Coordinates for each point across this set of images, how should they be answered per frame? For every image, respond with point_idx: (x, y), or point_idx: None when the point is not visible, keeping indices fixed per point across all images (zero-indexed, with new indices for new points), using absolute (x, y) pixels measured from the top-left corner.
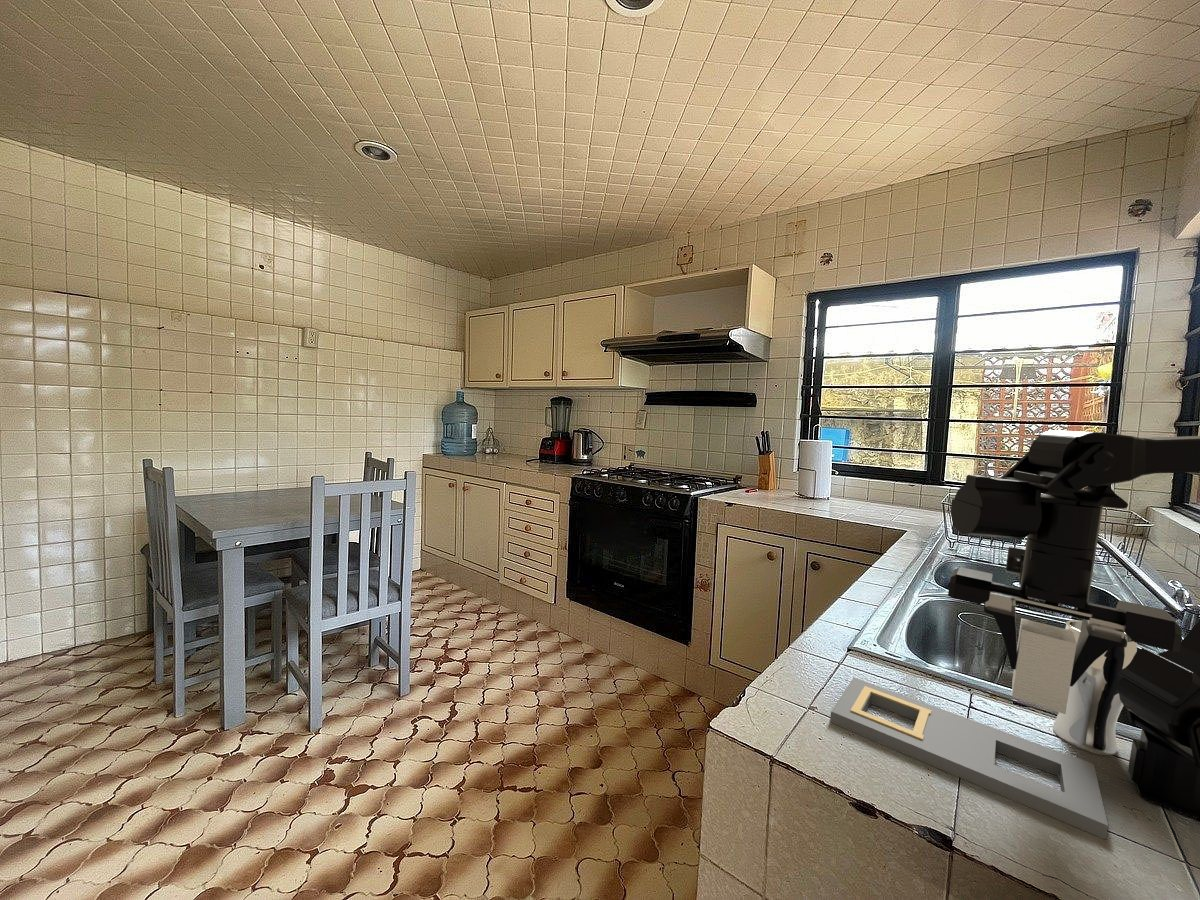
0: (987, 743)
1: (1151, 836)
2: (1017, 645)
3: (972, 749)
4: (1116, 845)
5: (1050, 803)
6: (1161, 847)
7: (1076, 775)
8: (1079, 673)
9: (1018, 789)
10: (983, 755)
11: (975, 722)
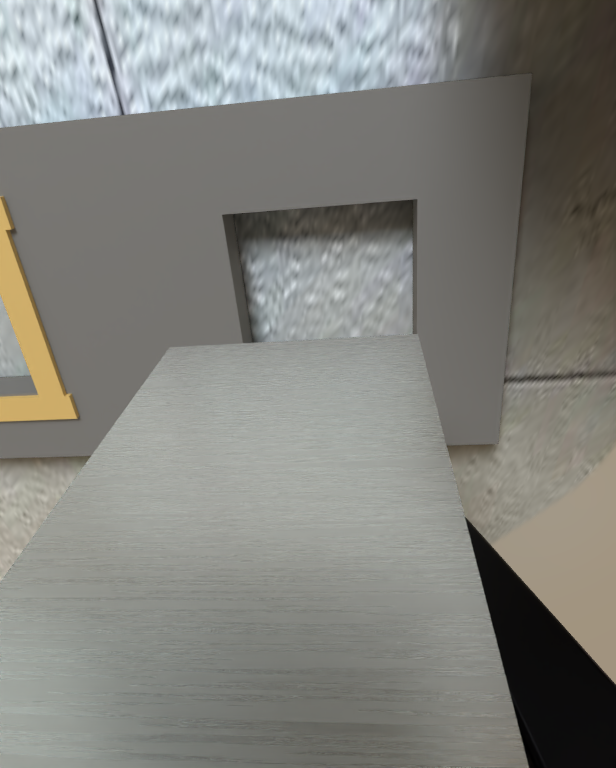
0: (207, 271)
1: (604, 319)
2: (43, 531)
3: None
4: (508, 423)
5: None
6: (613, 351)
7: (458, 238)
8: None
9: None
10: None
11: (134, 126)
